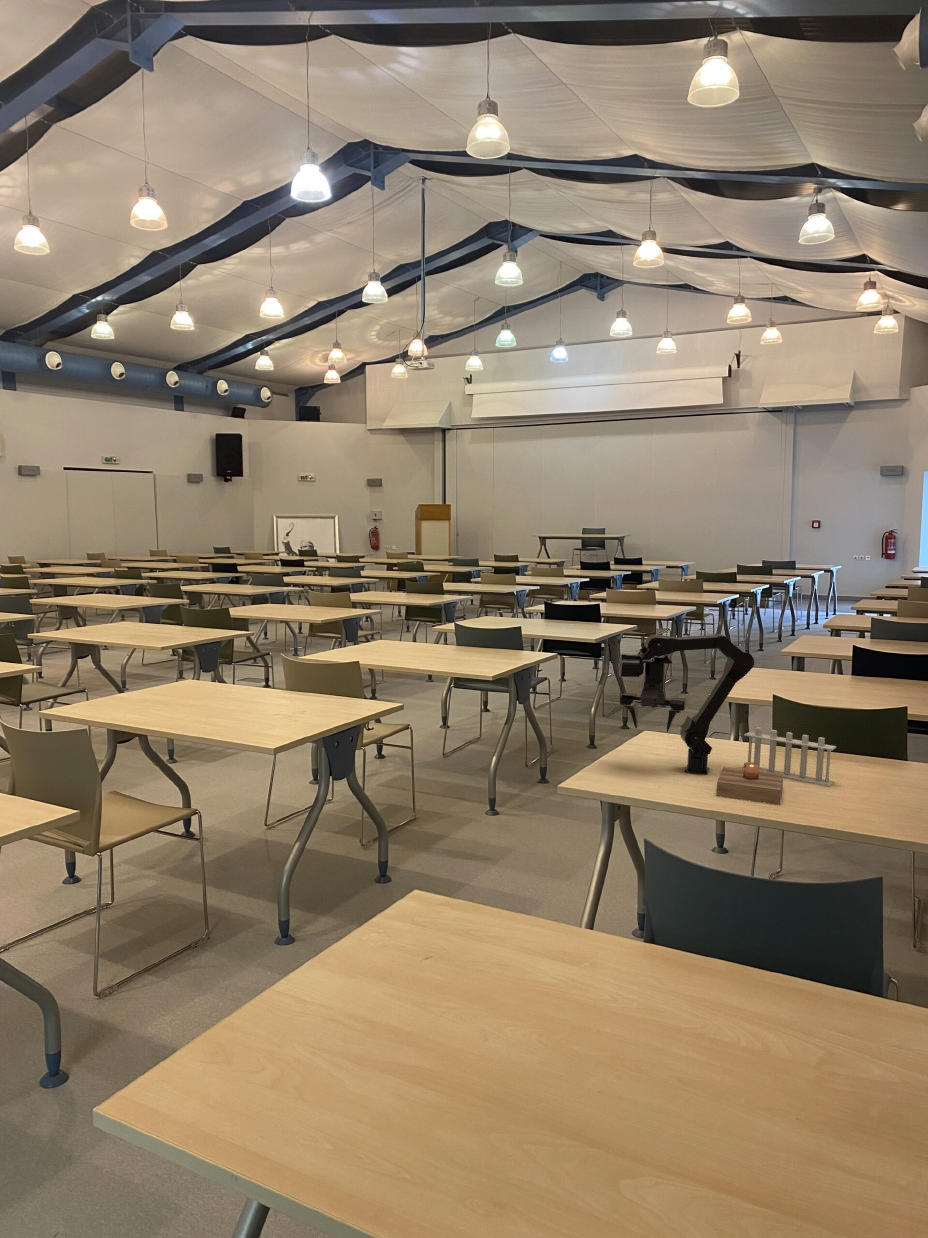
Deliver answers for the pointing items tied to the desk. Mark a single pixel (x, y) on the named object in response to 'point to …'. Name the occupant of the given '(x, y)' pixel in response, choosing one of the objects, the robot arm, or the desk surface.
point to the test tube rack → (788, 750)
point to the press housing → (750, 786)
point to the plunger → (751, 770)
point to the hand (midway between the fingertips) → (651, 730)
